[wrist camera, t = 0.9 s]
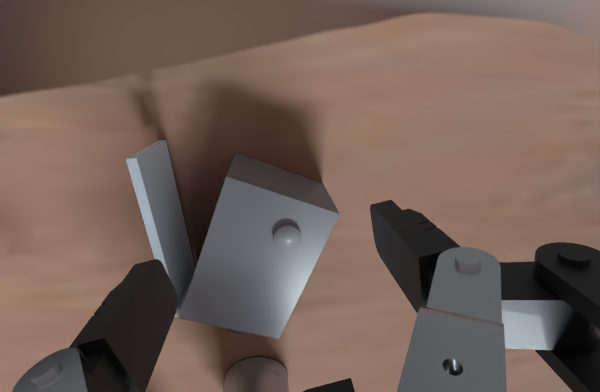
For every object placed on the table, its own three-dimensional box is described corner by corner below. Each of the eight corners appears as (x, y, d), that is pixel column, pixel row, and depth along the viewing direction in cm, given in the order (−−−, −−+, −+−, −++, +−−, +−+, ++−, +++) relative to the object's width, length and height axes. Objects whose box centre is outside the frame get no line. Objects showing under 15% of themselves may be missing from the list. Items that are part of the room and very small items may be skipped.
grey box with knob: (271, 296, 38) (273, 355, 30) (193, 277, 35) (173, 335, 27) (322, 183, 32) (341, 217, 24) (235, 152, 30) (224, 178, 22)
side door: (196, 272, 35) (180, 317, 28) (180, 274, 34) (161, 319, 28) (165, 140, 28) (136, 157, 22) (146, 141, 28) (111, 159, 22)
